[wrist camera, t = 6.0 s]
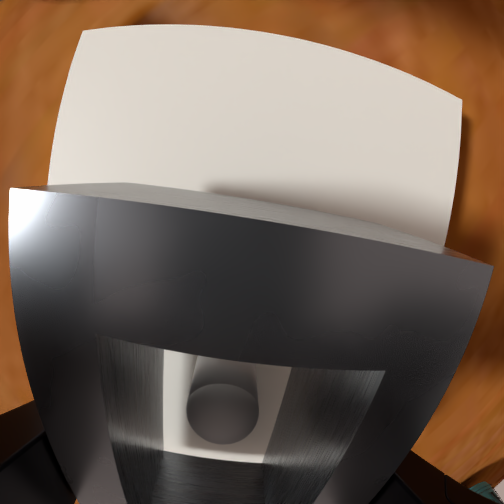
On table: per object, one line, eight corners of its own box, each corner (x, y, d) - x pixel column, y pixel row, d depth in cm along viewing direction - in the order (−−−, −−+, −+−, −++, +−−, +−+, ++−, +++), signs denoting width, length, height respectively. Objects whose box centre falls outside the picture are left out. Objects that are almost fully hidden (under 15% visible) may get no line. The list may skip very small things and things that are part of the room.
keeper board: (318, 487, 13) (334, 551, 8) (95, 457, 12) (68, 518, 8) (439, 106, 9) (529, 82, 4) (100, 45, 8) (30, -14, 3)
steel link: (287, 484, 9) (300, 567, 5) (131, 464, 9) (106, 545, 5) (377, 222, 7) (493, 266, 3) (126, 182, 6) (10, 187, 3)
